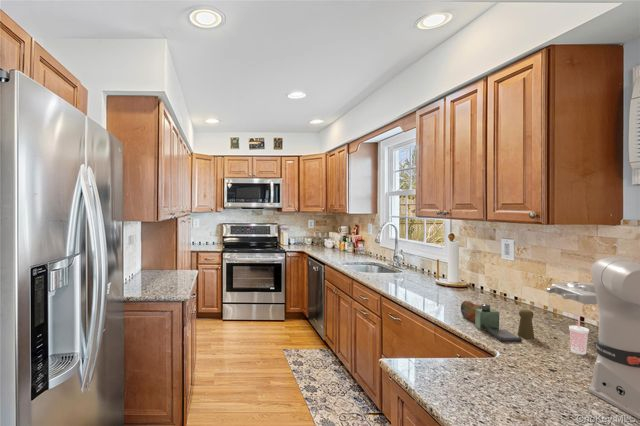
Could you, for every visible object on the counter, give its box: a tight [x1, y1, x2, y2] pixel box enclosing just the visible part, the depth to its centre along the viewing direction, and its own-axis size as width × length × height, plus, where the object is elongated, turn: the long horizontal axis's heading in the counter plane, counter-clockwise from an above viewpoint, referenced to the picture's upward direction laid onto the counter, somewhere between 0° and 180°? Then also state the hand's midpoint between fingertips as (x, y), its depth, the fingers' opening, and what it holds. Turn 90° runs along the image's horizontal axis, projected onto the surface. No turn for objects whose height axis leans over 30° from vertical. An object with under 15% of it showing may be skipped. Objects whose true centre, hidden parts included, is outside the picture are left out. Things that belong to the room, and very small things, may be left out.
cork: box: [517, 308, 535, 340], centre depth 146 cm, size 6×6×11 cm
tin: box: [460, 300, 481, 323], centre depth 165 cm, size 15×3×8 cm, turn 14°
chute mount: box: [474, 303, 523, 343], centre depth 148 cm, size 18×10×10 cm, turn 1°
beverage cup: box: [568, 314, 590, 356], centre depth 130 cm, size 6×6×14 cm
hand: (555, 293), depth 146 cm, fingers open, 8 cm apart
